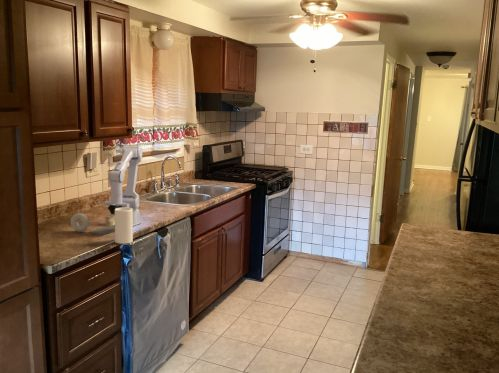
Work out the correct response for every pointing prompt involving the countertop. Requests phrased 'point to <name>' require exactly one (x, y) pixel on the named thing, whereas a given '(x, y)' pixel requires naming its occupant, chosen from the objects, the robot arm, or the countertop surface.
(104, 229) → the mat
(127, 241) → the cup
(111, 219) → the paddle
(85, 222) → the donut
